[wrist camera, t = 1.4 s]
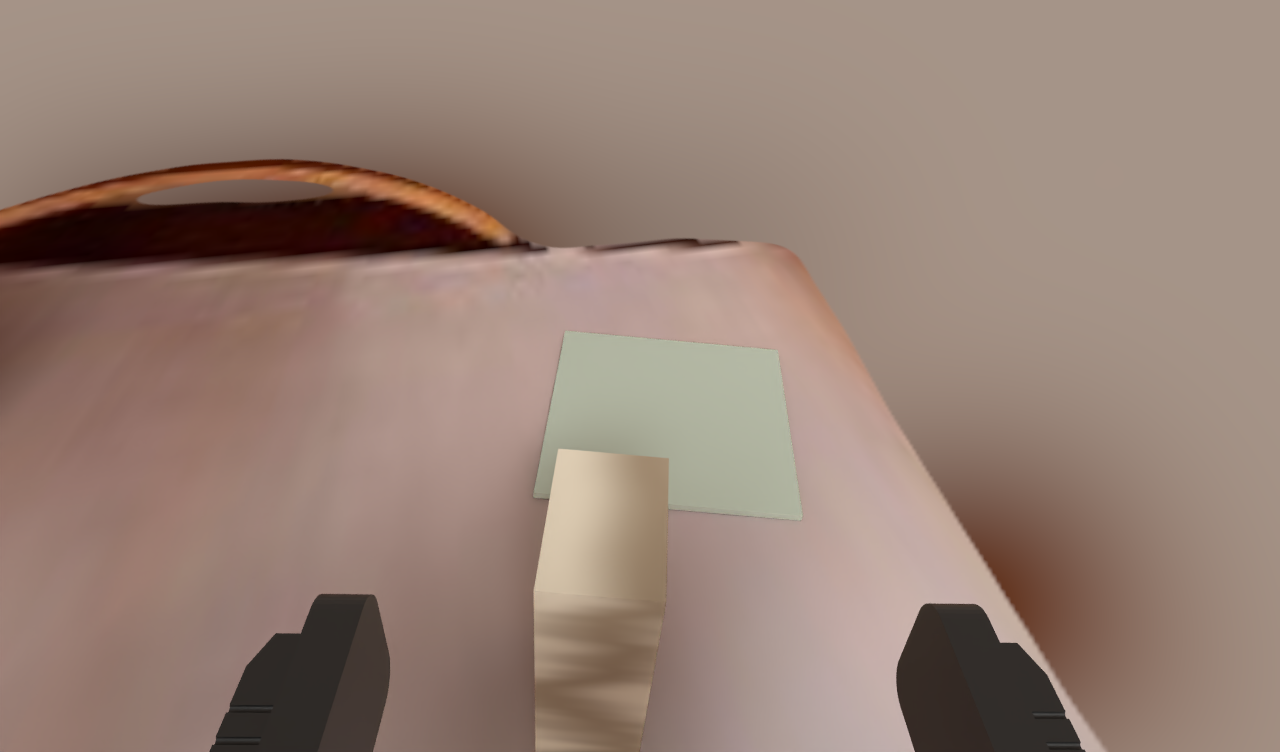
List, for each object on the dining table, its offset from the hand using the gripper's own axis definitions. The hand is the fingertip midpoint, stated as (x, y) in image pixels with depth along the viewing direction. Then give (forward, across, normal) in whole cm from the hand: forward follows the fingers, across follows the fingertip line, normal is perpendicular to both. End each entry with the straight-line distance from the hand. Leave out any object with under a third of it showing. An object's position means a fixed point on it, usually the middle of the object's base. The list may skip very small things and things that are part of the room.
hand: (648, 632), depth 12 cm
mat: (+28, -3, +19) cm, 34 cm away
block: (+12, +1, +20) cm, 23 cm away
